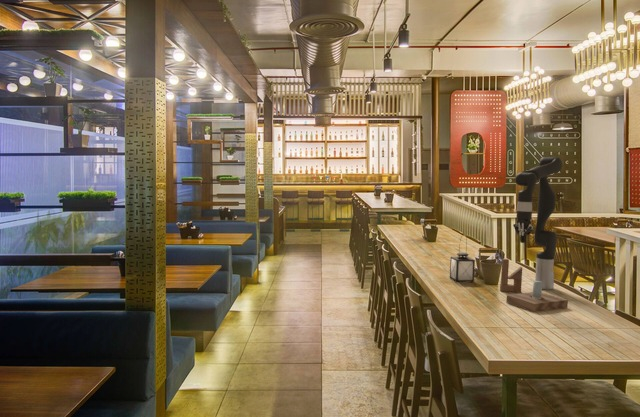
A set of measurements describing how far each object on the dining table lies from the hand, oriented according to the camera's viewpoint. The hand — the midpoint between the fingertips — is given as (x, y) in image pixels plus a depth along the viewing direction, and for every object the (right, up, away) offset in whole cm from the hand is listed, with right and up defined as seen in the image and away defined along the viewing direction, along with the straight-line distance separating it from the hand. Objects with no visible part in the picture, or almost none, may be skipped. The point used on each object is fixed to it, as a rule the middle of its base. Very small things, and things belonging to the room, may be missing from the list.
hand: (522, 242), depth 267 cm
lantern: (-21, -26, +40) cm, 52 cm away
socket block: (+1, -30, -16) cm, 34 cm away
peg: (+1, -30, -16) cm, 34 cm away
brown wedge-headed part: (-2, -28, +13) cm, 31 cm away
